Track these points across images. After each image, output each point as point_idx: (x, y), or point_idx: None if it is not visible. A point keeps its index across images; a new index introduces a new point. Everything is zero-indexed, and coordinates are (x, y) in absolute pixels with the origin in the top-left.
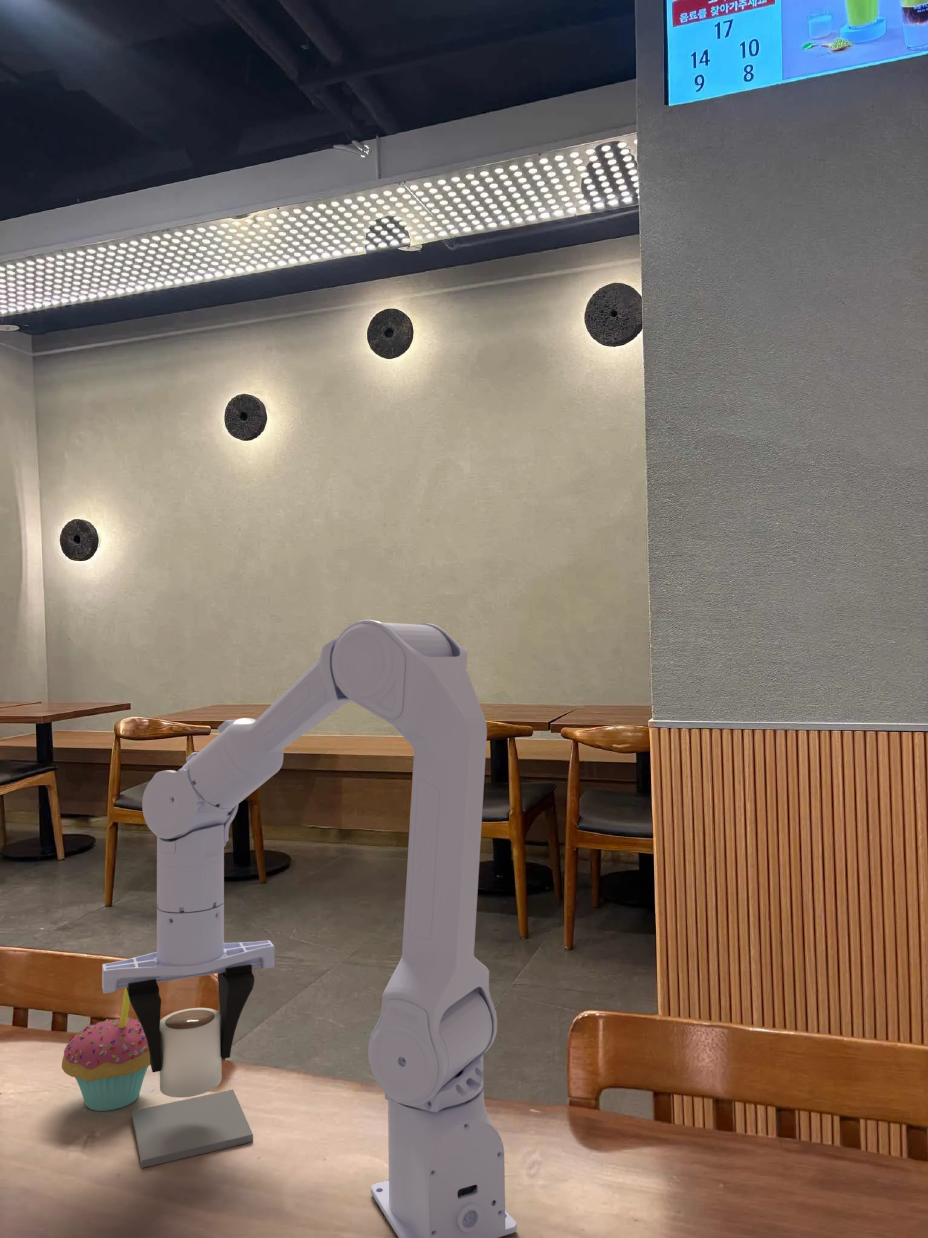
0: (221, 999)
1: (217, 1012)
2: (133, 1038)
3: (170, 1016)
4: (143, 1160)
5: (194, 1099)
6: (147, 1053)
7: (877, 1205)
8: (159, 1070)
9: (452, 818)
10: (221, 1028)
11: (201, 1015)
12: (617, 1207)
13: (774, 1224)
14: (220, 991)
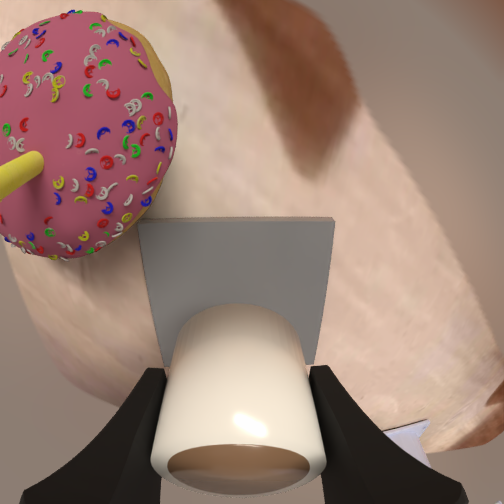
0: (343, 488)
1: (322, 464)
2: (78, 222)
3: (180, 454)
4: (166, 366)
5: (256, 229)
6: (134, 220)
7: (493, 435)
8: None
9: None
10: (322, 433)
11: (273, 472)
12: (446, 442)
13: (467, 446)
14: (352, 498)
